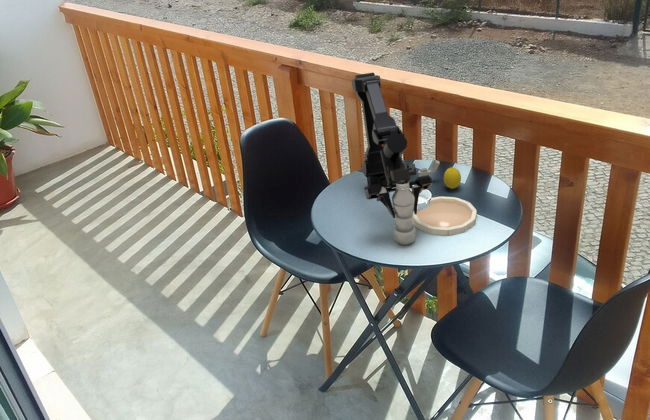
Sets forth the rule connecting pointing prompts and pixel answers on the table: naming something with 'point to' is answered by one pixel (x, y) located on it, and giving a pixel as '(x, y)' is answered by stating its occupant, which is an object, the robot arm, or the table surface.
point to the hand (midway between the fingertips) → (405, 216)
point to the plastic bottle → (403, 213)
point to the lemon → (452, 178)
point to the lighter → (428, 172)
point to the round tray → (446, 216)
